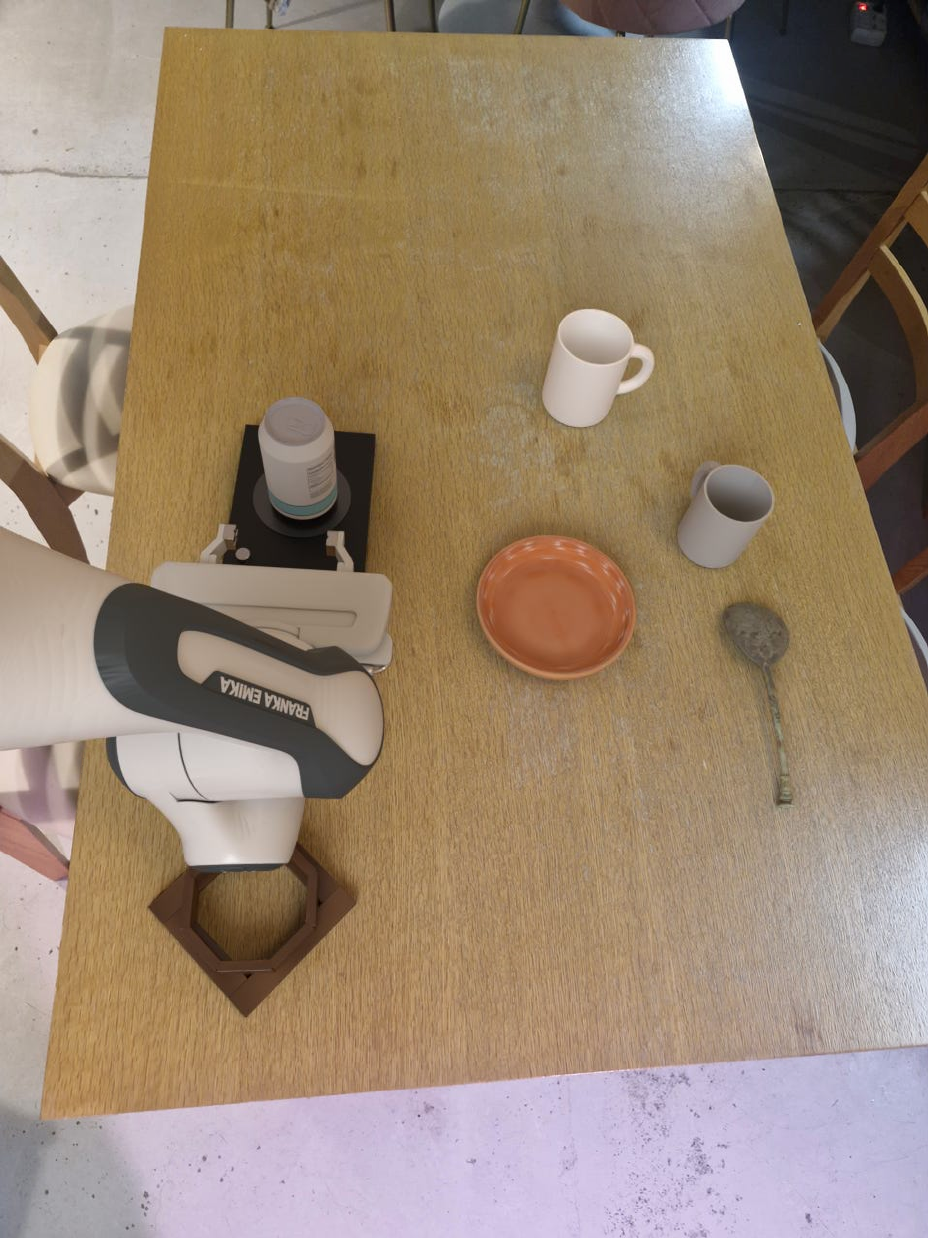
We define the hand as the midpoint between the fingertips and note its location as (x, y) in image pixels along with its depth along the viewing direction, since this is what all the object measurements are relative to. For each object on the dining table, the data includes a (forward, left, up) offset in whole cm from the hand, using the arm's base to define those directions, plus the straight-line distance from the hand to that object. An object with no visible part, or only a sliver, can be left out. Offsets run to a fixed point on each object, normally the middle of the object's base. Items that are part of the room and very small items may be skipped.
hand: (283, 530), depth 76 cm
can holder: (-23, -21, -10) cm, 32 cm away
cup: (+36, -26, -10) cm, 46 cm away
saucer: (+16, -21, -10) cm, 28 cm away
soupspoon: (+24, -42, -10) cm, 49 cm away
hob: (+7, +6, -10) cm, 14 cm away
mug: (+41, -6, -10) cm, 43 cm away
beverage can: (+7, +6, -9) cm, 13 cm away
